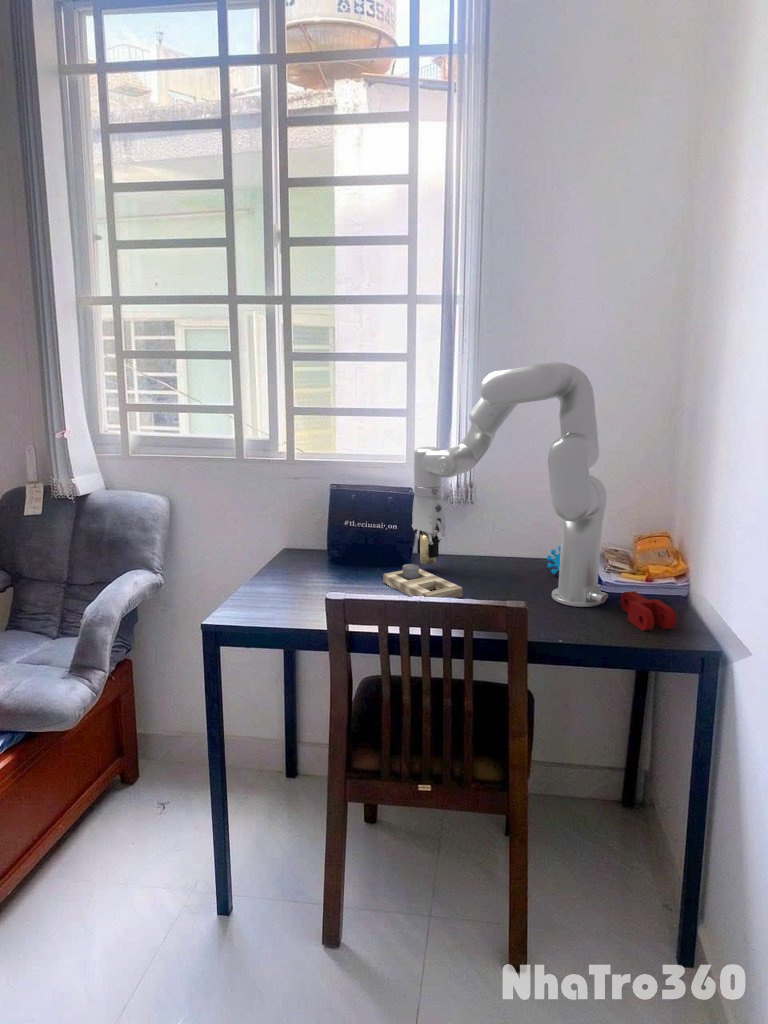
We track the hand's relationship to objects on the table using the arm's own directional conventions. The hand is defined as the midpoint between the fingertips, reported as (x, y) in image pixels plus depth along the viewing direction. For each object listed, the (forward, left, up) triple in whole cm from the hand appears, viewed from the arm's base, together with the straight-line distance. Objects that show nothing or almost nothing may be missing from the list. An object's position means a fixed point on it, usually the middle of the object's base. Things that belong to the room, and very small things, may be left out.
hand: (427, 554), depth 208 cm
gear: (-24, -30, -5) cm, 39 cm away
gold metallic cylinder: (0, 0, -2) cm, 2 cm away
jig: (-12, +11, -5) cm, 17 cm away
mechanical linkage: (-57, -20, -5) cm, 61 cm away
